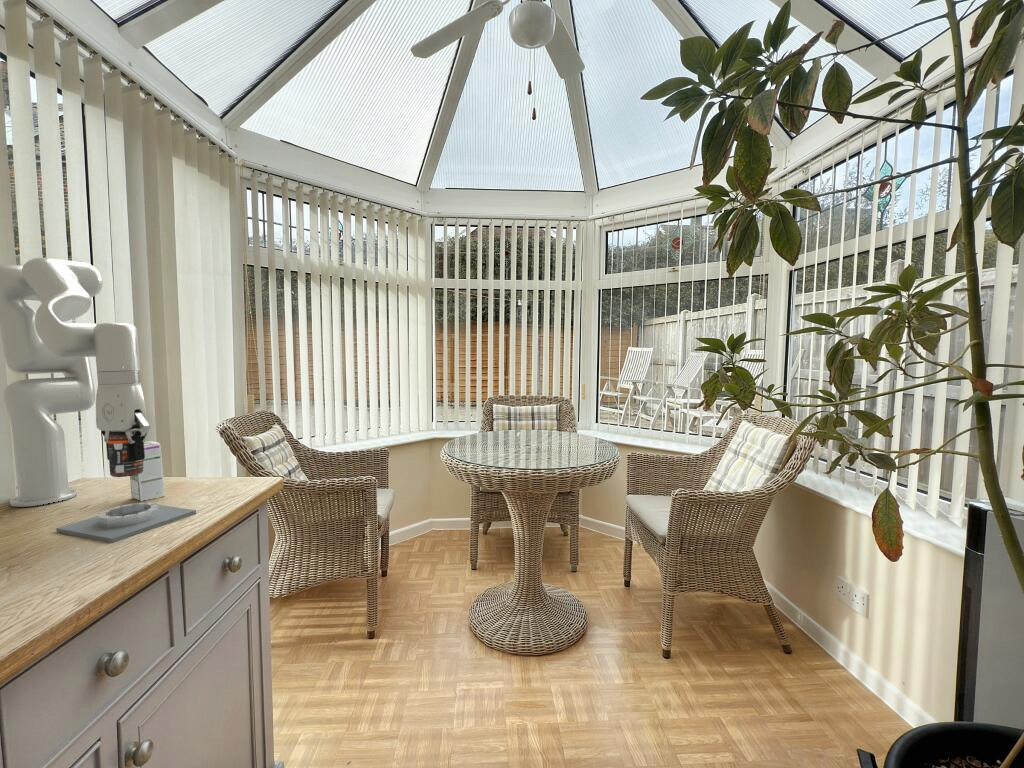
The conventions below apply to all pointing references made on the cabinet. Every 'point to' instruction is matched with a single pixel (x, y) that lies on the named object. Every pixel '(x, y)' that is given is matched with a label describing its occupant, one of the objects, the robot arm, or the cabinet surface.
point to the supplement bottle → (122, 456)
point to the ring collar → (117, 520)
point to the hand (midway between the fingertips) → (126, 458)
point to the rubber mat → (112, 534)
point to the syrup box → (149, 474)
